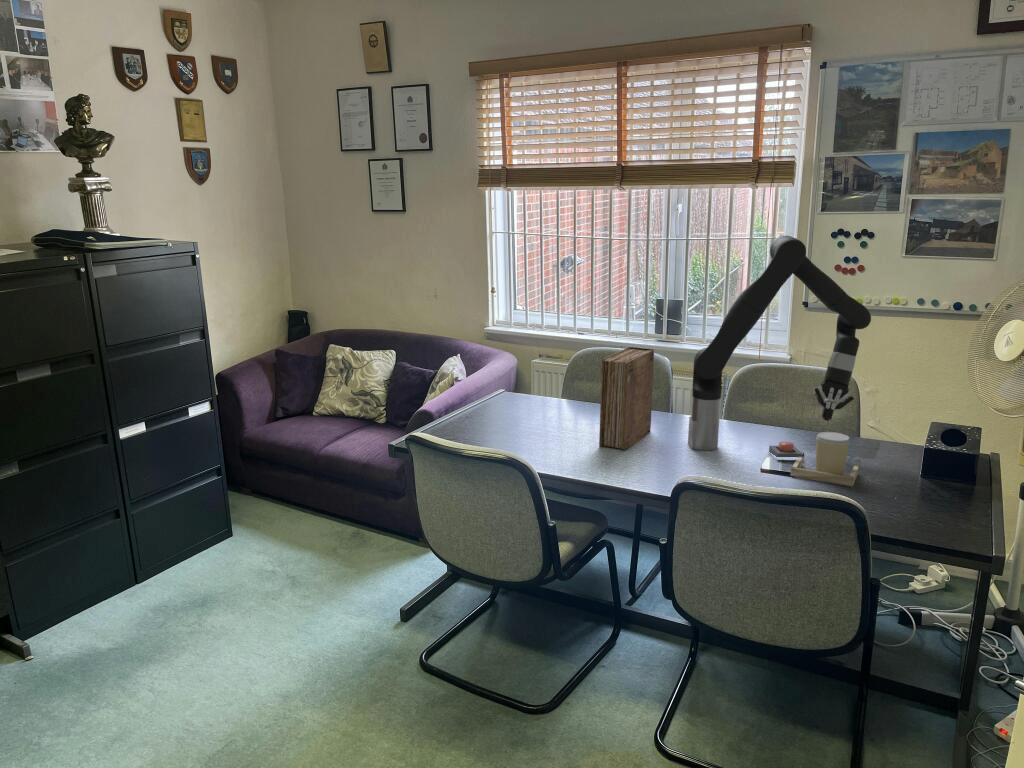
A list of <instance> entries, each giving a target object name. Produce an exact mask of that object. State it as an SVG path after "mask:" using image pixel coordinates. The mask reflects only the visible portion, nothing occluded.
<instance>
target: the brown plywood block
mask: <svg viewBox="0 0 1024 768" xmlns="http://www.w3.org/2000/svg"><path fill="white" fill-rule="evenodd" d="M654 358H655V349H651V348H641V347H633V346H632V347H631V346H629V347H626V348H624V349H622V350H620V351H618V352H615V353H613V354H611V355H609V356H606V357H604V358H602V359H601V370H600V371H601V376H600V377H601V379H600V381H601V382H600V402H599V404H600V406H599V409H600V411H599V436H598V437H599V439H598V441H599V443H598V447H599V448H601V447H608V448H615V449H616V448H617V449H620V450H621V449H623V452H625V451H627V450H628V449H630V448H632V447H633V446H634V445H635V444H636V443H638V442H639V441H640V440H641V439H643V438H644V437H645V436H647V435H648V434H649V433H650V432H651V430H652V429H651V428H652V427H651V426H652V407H653V404H652V403H653V386H654V385H653V381H654V364H655V363H654V362H655V361H654V360H655V359H654Z"/></svg>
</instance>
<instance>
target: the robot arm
mask: <svg viewBox="0 0 1024 768" xmlns="http://www.w3.org/2000/svg"><path fill="white" fill-rule="evenodd" d="M769 256H770V257H771V260H770V262H769V264H768V265H767V267H766V268H765V270H764V271H763V272H762V273H761V275H760V276H758V278H757V279H755V280H754V281H753V282H752V283H751V284H750V285H748V286H747V287H746V288H745V289H744V290H743V291H742V292H741V293H740V294H739V295H738V297H737V298H736V300H735V301H734V302H733V304H732V305H731V306H730V308H729V310H728V312H727V314H726V316H725V318H724V320H723V322H722V324H721V325H720V328H719V330H718V332H717V333H716V335H715V337H714V338H713V340H712V341H711V342H709V344H708V345H707V347H703V348H702V349H700V350H698V352H697V353H696V354H695V356H694V359H693V370H692V371H693V375H692V391H691V392H692V394H691V395H692V397H691V398H692V399H691V409H690V410H691V414H690V416H689V420H688V433H687V434H688V435H687V444H688V445H689V447H690V449H691V450H699V451H713V450H717V449H718V446H719V444H718V443H719V431H720V429H719V428H720V416H721V402H722V384H723V383H722V379H723V377H722V376H723V370H724V369H725V367H726V365H727V363H728V362H729V359H730V358H731V356H732V355H733V353H734V352H735V350H736V348H737V347H738V346H739V345H740V343H741V342H742V341H743V340H744V339H745V337H746V336H747V335H748V334H749V333H750V331H752V329H753V328H754V326H755V325H756V324H757V323H758V321H759V320H760V318H761V317H762V316H763V314H764V312H766V311H767V309H768V307H769V305H770V304H771V302H772V301H773V300H774V298H775V297H776V296H777V294H778V293H779V291H780V290H781V288H782V286H783V285H785V283H786V282H787V281H788V279H789V278H790V277H791V276H792V275H794V276H796V278H797V279H798V280H800V281H801V282H802V283H803V284H804V286H806V288H808V290H810V292H811V293H812V294H813V295H814V296H815V297H816V298H817V299H818V300H819V301H820V302H821V303H822V304H823V305H824V306H825V307H826V308H827V309H828V310H830V311H831V312H833V313H837V314H838V316H837V320H836V331H835V333H836V334H835V335H836V340H835V342H834V346H833V349H832V353H831V355H830V358H829V359H828V363H827V368H826V372H825V375H824V378H823V381H822V383H820V385H819V386H816V387H813V388H812V391H813V394H814V396H815V398H816V400H817V403H818V404H819V405H820V406H822V407H823V409H822V413H821V418H822V420H824V421H827V422H829V421H830V420H831V419H833V415H834V411H835V410H841V409H843V408H844V407H846V405H848V404H849V403H851V402H852V401H853V400H855V398H854V396H852V395H851V394H850V393H849V391H850V389H849V385H850V382H851V379H852V375H853V371H854V368H855V364H856V357H857V354H858V350H859V347H860V339H859V338H858V337H856V331H857V330H864V329H865V328H867V327H869V325H870V324H871V321H872V315H871V312H870V311H869V310H868V308H867V307H866V306H865V305H863V304H862V303H861V302H859V301H858V300H857V299H855V298H853V297H852V296H850V295H849V294H847V292H846V291H845V290H844V289H843V288H842V287H841V286H840V285H839V284H838V283H836V281H835V280H833V279H832V278H831V277H830V276H829V275H827V274H826V273H825V272H823V270H821V269H820V268H819V267H818V266H816V265H815V264H814V262H812V261H811V260H810V258H808V256H807V247H806V246H805V243H804V242H802V241H801V240H800V239H798V238H796V237H793V236H791V235H780V236H779V237H776V238H775V239H774V240H772V242H771V244H770V247H769ZM821 393H823V395H824V398H823V396H822V394H821ZM842 398H843V399H842ZM841 399H842V400H841ZM840 400H841V401H840ZM838 402H839V403H838Z"/></svg>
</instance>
